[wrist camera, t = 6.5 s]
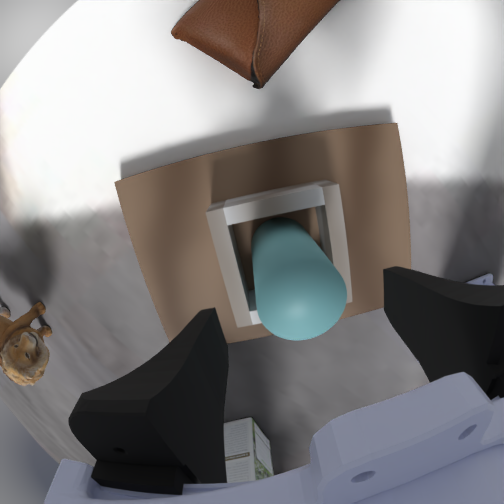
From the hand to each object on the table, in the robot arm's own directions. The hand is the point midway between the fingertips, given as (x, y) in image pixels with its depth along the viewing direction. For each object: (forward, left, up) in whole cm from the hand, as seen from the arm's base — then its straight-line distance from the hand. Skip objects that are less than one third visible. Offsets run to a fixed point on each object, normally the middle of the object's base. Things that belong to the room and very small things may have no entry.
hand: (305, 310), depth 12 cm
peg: (0, 0, -9) cm, 9 cm away
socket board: (0, 0, -10) cm, 10 cm away
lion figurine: (+26, +1, -10) cm, 28 cm away
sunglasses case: (-5, -20, -11) cm, 23 cm away
